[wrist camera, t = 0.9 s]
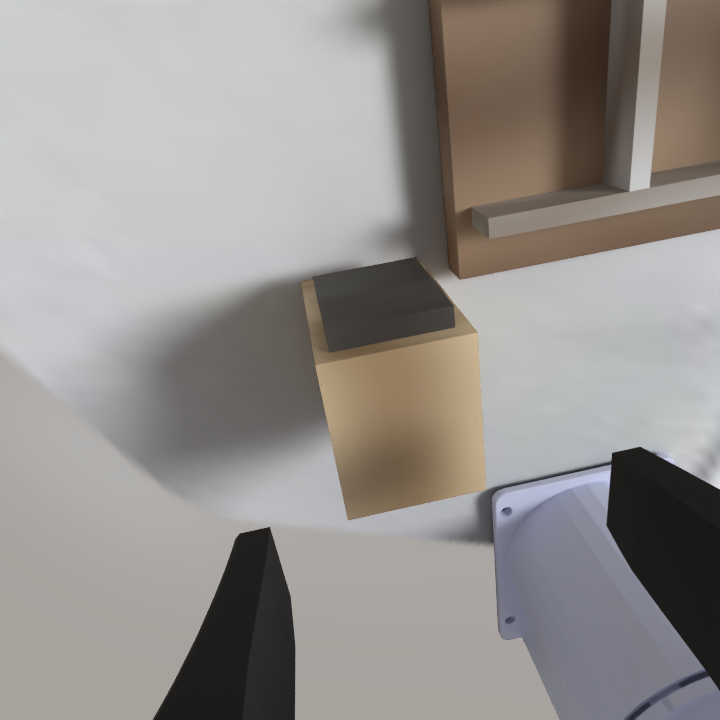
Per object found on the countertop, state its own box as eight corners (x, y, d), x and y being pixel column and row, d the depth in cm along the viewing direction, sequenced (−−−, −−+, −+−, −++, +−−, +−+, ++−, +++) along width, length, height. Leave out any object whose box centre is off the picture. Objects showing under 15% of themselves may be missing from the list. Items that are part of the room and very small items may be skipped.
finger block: (416, 241, 19) (476, 309, 14) (431, 385, 21) (486, 489, 16) (297, 264, 19) (310, 343, 13) (327, 407, 21) (348, 520, 16)
